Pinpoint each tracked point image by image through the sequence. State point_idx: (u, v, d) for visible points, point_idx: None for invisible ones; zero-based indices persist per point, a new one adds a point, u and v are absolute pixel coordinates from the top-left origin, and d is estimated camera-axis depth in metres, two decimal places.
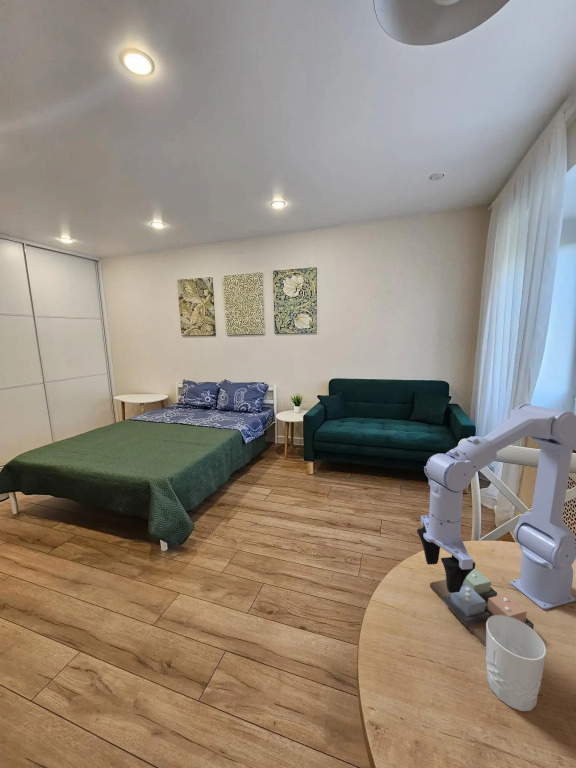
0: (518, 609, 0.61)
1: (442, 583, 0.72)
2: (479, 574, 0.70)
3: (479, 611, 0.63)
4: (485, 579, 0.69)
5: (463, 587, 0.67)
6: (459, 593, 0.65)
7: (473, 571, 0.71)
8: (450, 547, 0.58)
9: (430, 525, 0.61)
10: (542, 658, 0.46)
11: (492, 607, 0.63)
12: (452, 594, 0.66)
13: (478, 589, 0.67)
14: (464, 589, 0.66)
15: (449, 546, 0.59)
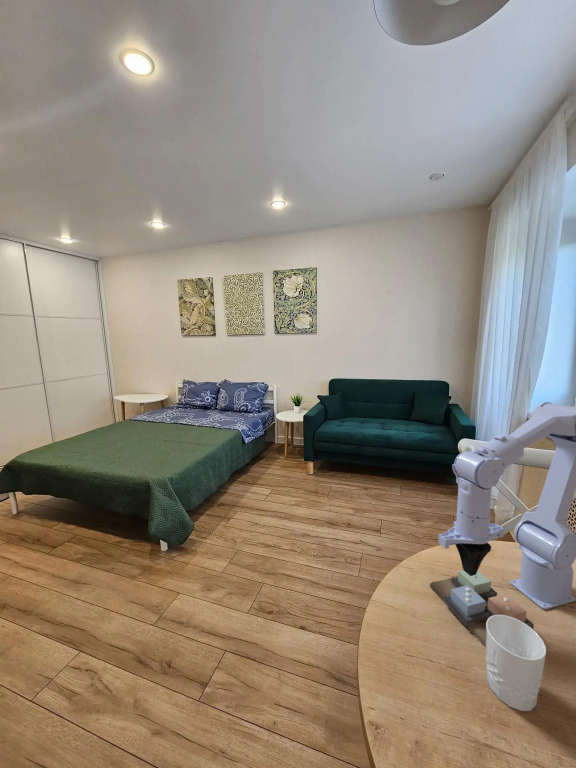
0: (518, 609, 0.61)
1: (442, 583, 0.72)
2: (479, 574, 0.70)
3: (479, 611, 0.63)
4: (485, 579, 0.69)
5: (463, 587, 0.67)
6: (459, 593, 0.65)
7: None
8: (455, 533, 0.63)
9: None
10: (542, 658, 0.46)
11: (492, 607, 0.63)
12: (452, 594, 0.66)
13: (478, 589, 0.67)
14: (464, 589, 0.66)
15: (456, 533, 0.63)
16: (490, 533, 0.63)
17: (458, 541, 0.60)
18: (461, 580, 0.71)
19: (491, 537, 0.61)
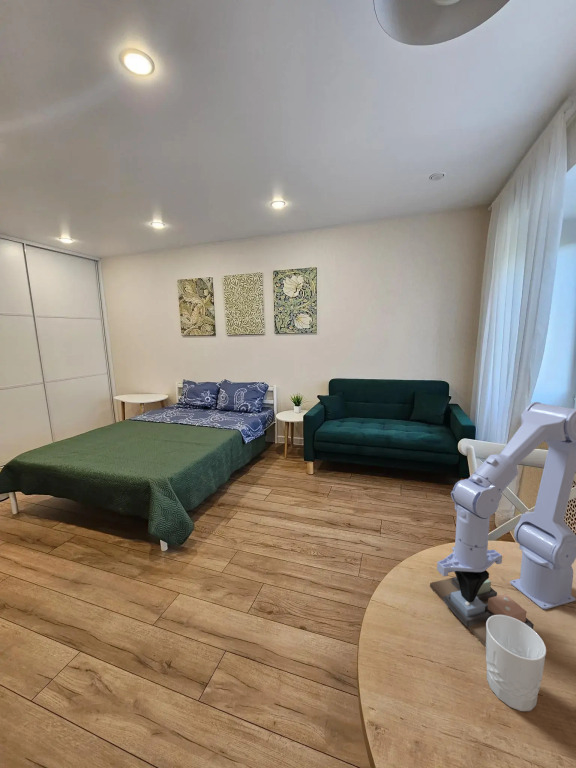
0: (518, 609, 0.61)
1: (442, 583, 0.72)
2: None
3: None
4: None
5: None
6: (459, 597, 0.65)
7: None
8: (454, 560, 0.63)
9: None
10: (542, 658, 0.46)
11: (492, 607, 0.63)
12: (452, 597, 0.66)
13: None
14: None
15: (454, 559, 0.64)
16: (488, 560, 0.64)
17: (456, 569, 0.61)
18: None
19: (489, 565, 0.62)
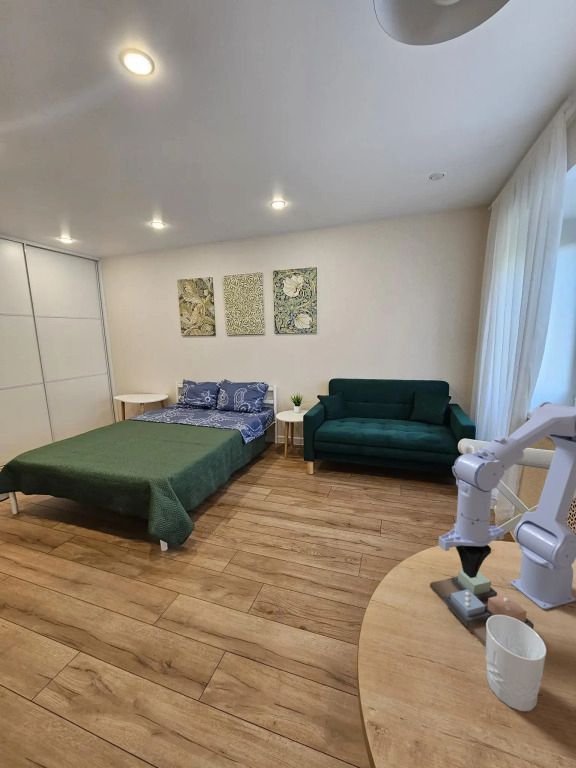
0: (518, 609, 0.61)
1: (442, 583, 0.72)
2: (479, 574, 0.70)
3: None
4: (485, 579, 0.69)
5: (463, 591, 0.67)
6: (459, 597, 0.65)
7: None
8: (456, 535, 0.63)
9: None
10: (542, 658, 0.46)
11: (492, 607, 0.63)
12: (452, 598, 0.66)
13: (478, 589, 0.67)
14: (464, 593, 0.66)
15: (456, 535, 0.63)
16: (490, 535, 0.63)
17: (458, 543, 0.60)
18: (461, 580, 0.71)
19: (491, 539, 0.61)
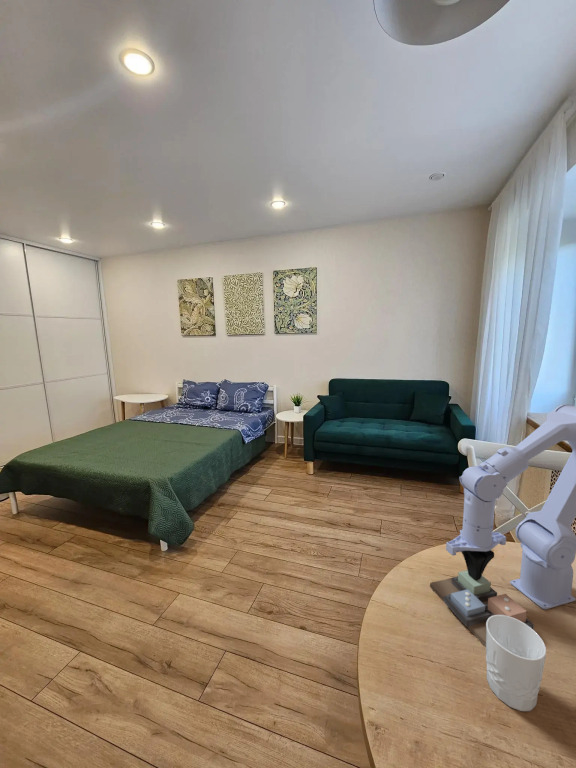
0: (518, 609, 0.61)
1: (442, 583, 0.72)
2: None
3: None
4: (485, 580, 0.69)
5: (463, 591, 0.67)
6: (459, 597, 0.65)
7: None
8: (462, 541, 0.69)
9: None
10: (542, 658, 0.46)
11: (492, 607, 0.63)
12: (452, 598, 0.66)
13: (478, 590, 0.68)
14: (464, 593, 0.66)
15: (462, 540, 0.69)
16: (493, 541, 0.69)
17: (464, 548, 0.66)
18: (461, 581, 0.71)
19: (494, 545, 0.67)
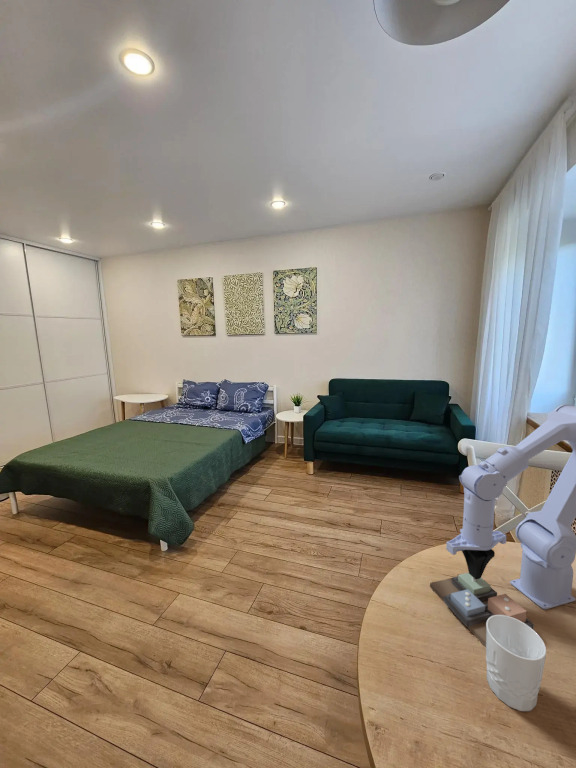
0: (518, 609, 0.61)
1: (442, 583, 0.72)
2: None
3: None
4: (485, 583, 0.69)
5: (463, 591, 0.67)
6: (459, 597, 0.65)
7: None
8: (462, 540, 0.69)
9: None
10: (542, 658, 0.46)
11: (492, 607, 0.63)
12: (452, 598, 0.66)
13: (477, 593, 0.68)
14: (464, 593, 0.66)
15: (462, 540, 0.69)
16: (493, 540, 0.69)
17: (464, 548, 0.66)
18: None
19: (494, 544, 0.67)
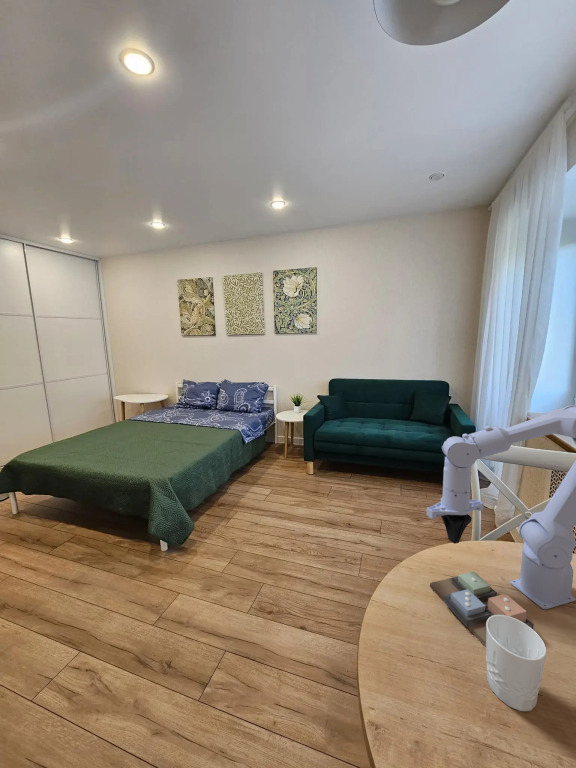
0: (518, 609, 0.61)
1: (442, 583, 0.72)
2: (478, 578, 0.70)
3: None
4: (485, 583, 0.69)
5: (463, 591, 0.67)
6: (459, 597, 0.65)
7: (473, 575, 0.71)
8: (441, 507, 0.73)
9: None
10: (542, 658, 0.46)
11: (492, 607, 0.63)
12: (452, 598, 0.66)
13: (477, 593, 0.68)
14: (464, 593, 0.66)
15: (442, 506, 0.73)
16: (471, 507, 0.73)
17: (443, 512, 0.71)
18: None
19: (471, 509, 0.71)
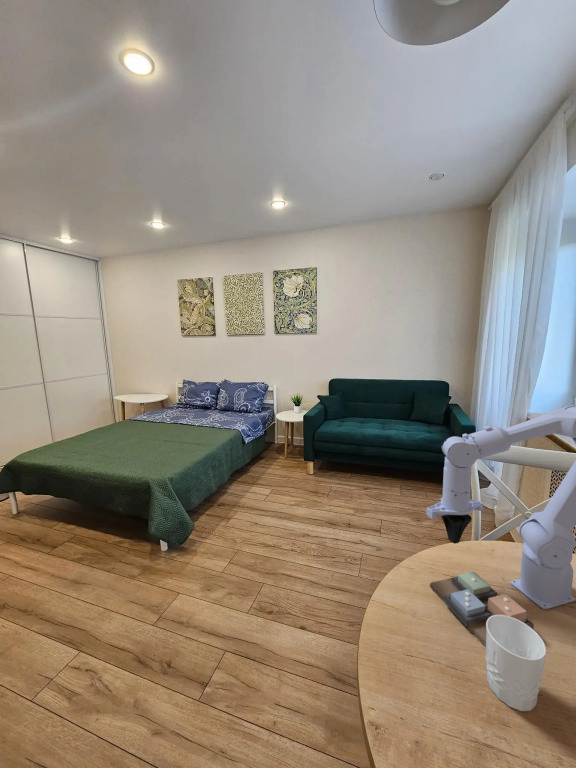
0: (518, 609, 0.61)
1: (442, 583, 0.72)
2: (478, 578, 0.70)
3: None
4: (485, 583, 0.69)
5: (463, 591, 0.67)
6: (459, 597, 0.65)
7: (473, 575, 0.71)
8: (441, 507, 0.73)
9: None
10: (542, 658, 0.46)
11: (492, 607, 0.63)
12: (452, 598, 0.66)
13: (477, 593, 0.68)
14: (464, 593, 0.66)
15: (442, 506, 0.73)
16: (471, 507, 0.73)
17: (443, 512, 0.71)
18: None
19: (471, 509, 0.71)
